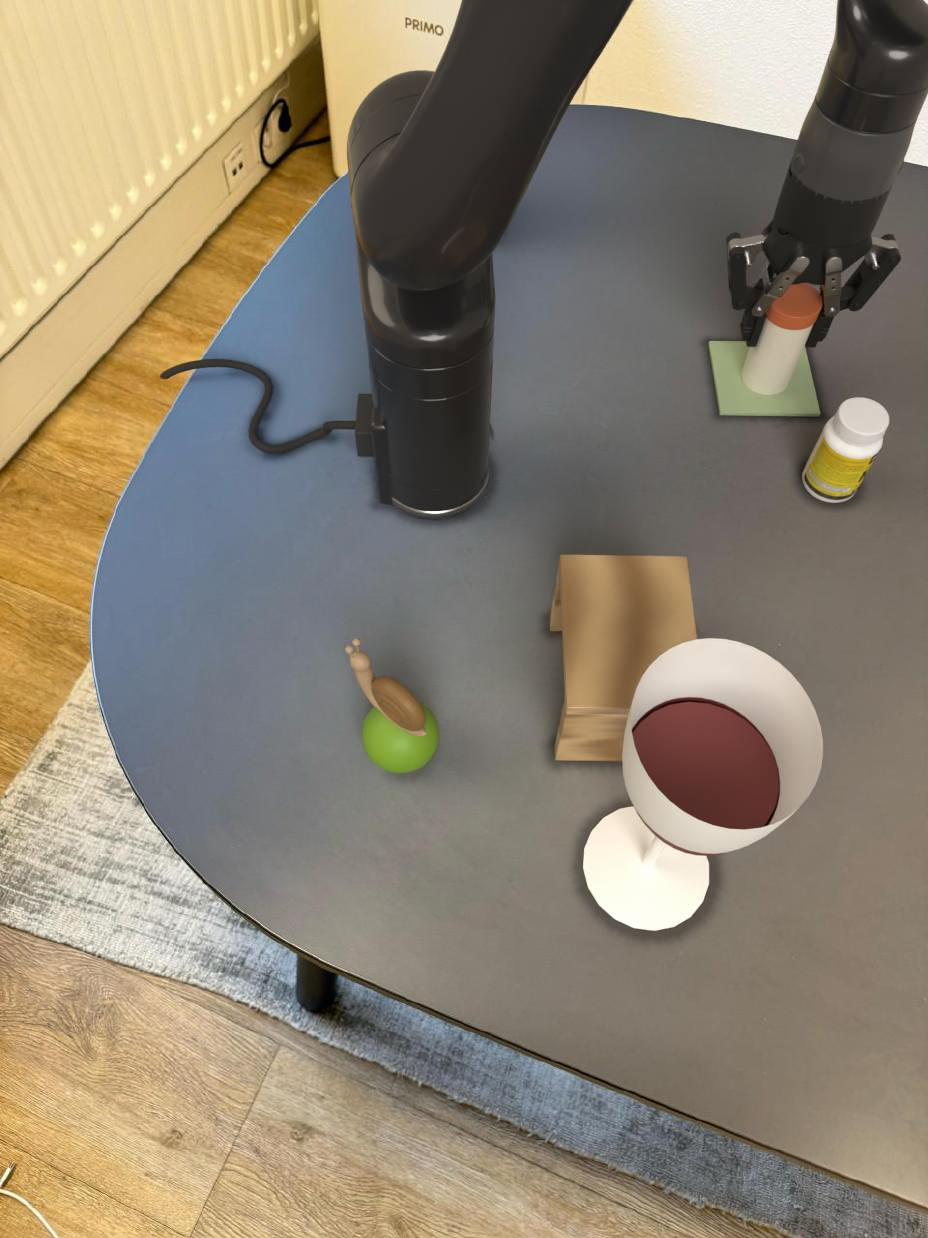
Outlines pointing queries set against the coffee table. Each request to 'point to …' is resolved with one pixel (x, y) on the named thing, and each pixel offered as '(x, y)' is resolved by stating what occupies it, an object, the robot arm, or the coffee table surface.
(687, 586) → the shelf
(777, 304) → the spice bottle
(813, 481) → the supplement bottle
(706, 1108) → the coffee table surface
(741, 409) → the mat
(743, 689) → the wineglass
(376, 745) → the snail figurine
